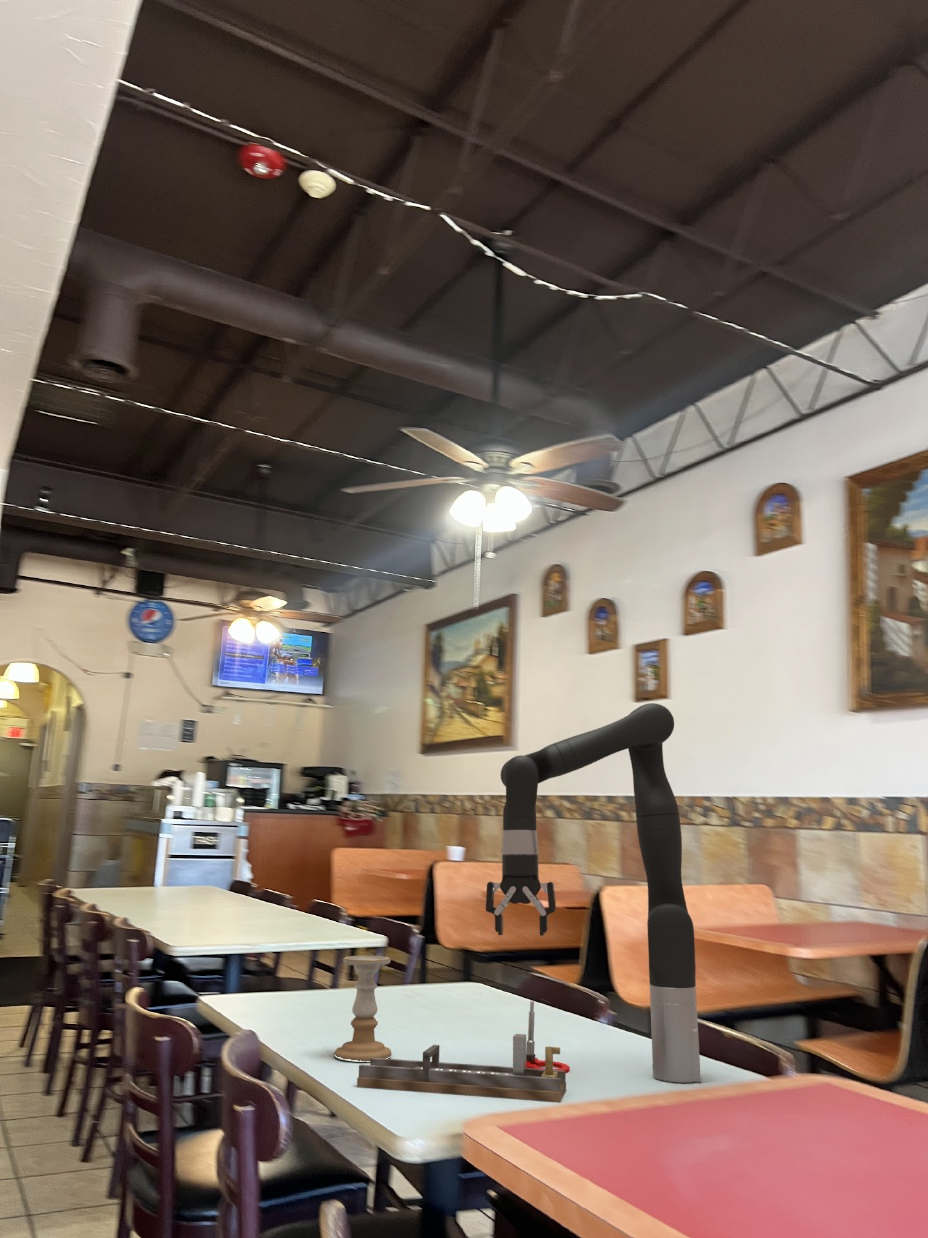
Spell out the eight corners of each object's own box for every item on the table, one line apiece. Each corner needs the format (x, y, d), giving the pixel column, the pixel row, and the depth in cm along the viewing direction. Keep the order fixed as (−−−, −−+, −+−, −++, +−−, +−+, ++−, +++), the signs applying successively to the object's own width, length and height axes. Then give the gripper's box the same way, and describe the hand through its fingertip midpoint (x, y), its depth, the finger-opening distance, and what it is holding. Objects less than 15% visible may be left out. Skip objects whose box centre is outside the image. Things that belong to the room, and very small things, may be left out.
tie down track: (566, 1090, 166) (565, 1043, 168) (560, 1102, 157) (559, 1053, 160) (372, 1076, 174) (374, 1032, 176) (356, 1087, 166) (358, 1040, 168)
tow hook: (575, 1071, 185) (533, 1064, 189) (576, 1004, 188) (535, 998, 192) (561, 1079, 177) (518, 1071, 181) (563, 1009, 181) (521, 1003, 184)
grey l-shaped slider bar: (526, 1081, 165) (526, 1034, 167) (523, 1085, 162) (523, 1037, 164) (415, 1073, 170) (416, 1028, 172) (411, 1077, 167) (412, 1030, 169)
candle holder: (402, 1056, 194) (406, 957, 199) (366, 1066, 184) (370, 962, 189) (359, 1049, 200) (364, 954, 206) (322, 1058, 191) (327, 958, 196)
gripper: (555, 853, 188) (557, 934, 184) (489, 853, 191) (489, 933, 186) (552, 852, 181) (554, 937, 176) (483, 852, 184) (483, 936, 179)
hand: (521, 935), depth 181 cm, fingers open, 8 cm apart
